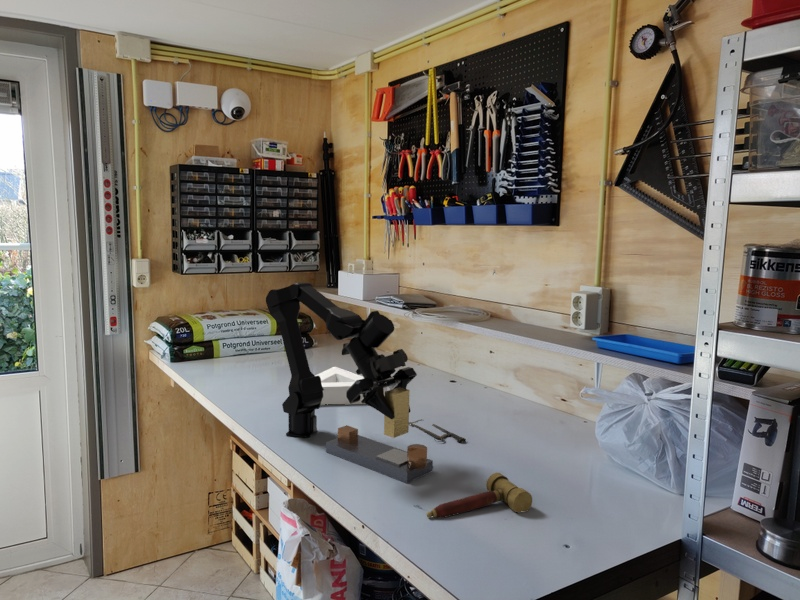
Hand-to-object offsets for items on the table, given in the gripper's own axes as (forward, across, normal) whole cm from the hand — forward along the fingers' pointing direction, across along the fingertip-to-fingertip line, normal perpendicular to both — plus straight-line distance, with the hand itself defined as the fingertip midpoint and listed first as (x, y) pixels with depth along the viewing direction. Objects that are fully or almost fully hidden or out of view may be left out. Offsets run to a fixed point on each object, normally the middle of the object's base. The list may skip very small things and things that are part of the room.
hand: (401, 415), depth 135 cm
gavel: (+26, -4, -7) cm, 27 cm away
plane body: (+4, 0, +14) cm, 15 cm away
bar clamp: (+1, +24, +18) cm, 30 cm away
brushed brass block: (+2, 0, +4) cm, 5 cm away
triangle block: (-25, +31, +44) cm, 59 cm away
